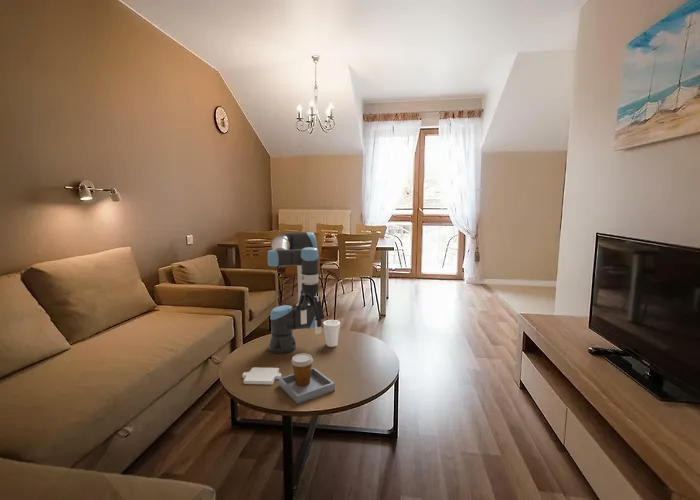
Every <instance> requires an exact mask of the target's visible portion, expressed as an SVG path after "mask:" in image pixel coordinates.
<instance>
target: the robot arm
mask: <svg viewBox="0 0 700 500" xmlns="http://www.w3.org/2000/svg"><path fill="white" fill-rule="evenodd" d="M316 238H317V237H316V235H315V233H314V232H312V231H311V232H310V231H309V232H307V231H303V232H302V231H300V232H299V231H298V232H296V231H295V232H284V233H280V234H278V235H277V236H276V237H274V239H272V242H271V249H269V250H268V251H267V264H268V266H269V267H289V266H290V267H291V266H293V267H294V266H297V289H298V290H297V291H298V292H297V295H298V297H297V298H298V302H297V303H296V304H295V307H294V308H293V306H292V305H287V304H286V305H278V306H276V307H274V308H272V310H271V311H270V317H269V319H270V328H271V329H270V331H271V335H270V339H269V342H268V351H269V352H270V353H274V354H287V353H291V352H293V351H295V350H296V349H297V342H296V340H295V337H294V333H293V330H295V331H296V330H310V329H314V334H315V335H319V334H321V333H322V320H324V319H325V314H324V311H323V306H322V303H321V302H322V301H321V296H320V295H319V296H317V293H318V292H319V289H320V285H319V284H320V283H319V282H320V281H319V280H320V279H319V278H320V277H319V276H320V275H319V256H320V255H319V250H318V243H317V239H316Z"/></svg>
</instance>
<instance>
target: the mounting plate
mask: <svg viewBox="0 0 700 500" xmlns="http://www.w3.org/2000/svg"><path fill="white" fill-rule="evenodd" d="M279 378H282V373H281V372H280V368H279V367H257V366H256V367H252V368H251V369H250V370H249V371H244V372H243V373H242V379H243V384H244V385H246V384H247V385H273V384H274V382H275V380H279Z"/></svg>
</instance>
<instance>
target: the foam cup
mask: <svg viewBox="0 0 700 500" xmlns="http://www.w3.org/2000/svg"><path fill="white" fill-rule="evenodd" d="M322 326H323V331H324V339H325V344H326V346H327V347H329V348H330V347H331V348H333V347H334V348H335V347H337V346H338V342H339V334H340V328H341V322H340V320H338V319H337V320H336V319H328V320H324V321H323V325H322Z"/></svg>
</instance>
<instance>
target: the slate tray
mask: <svg viewBox="0 0 700 500" xmlns="http://www.w3.org/2000/svg"><path fill="white" fill-rule="evenodd" d="M278 387H279V388H280V389H281V390H282V391H284V393H286V395H288V396H289V397H290V398H291V400H293V401H294V403H296V404H297V405H300V404H302V403H305V402H308V401H310V400H313V399H316V398H319V397H321V396H324V395H327V394H330V393H332V392H335V389H336V383H335V382H334V381H332V380H331V379H330V378H329V377H327V376H326V375H325V374H324V373H322V372H321V371H319V370H318V369H317V368H315V367H311V376H310V383H309V384H308V385H307V386H297V385H296V382H295V376H294V373H292V374H289V375H286V376H281V378H279V379H278Z"/></svg>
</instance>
